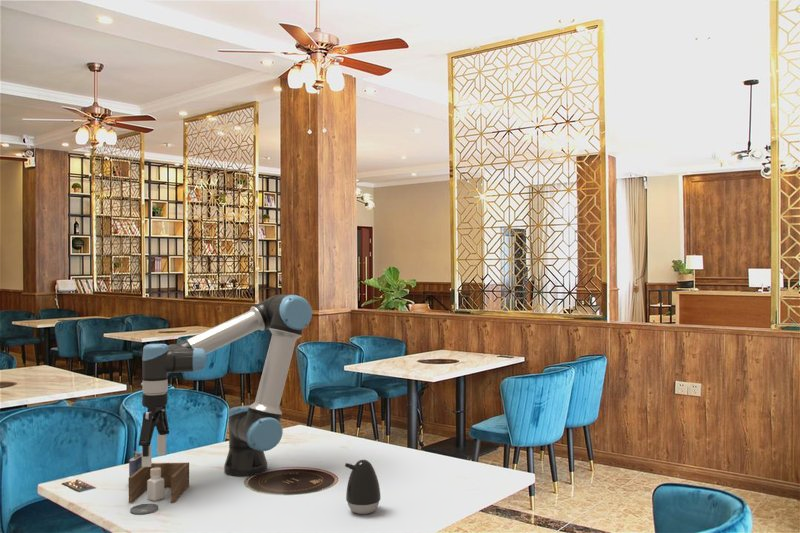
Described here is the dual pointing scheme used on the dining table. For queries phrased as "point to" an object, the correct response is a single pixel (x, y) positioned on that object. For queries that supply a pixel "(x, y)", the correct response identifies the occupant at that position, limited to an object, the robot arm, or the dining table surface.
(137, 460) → the flask
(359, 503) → the pump dispenser
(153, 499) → the pepper shaker
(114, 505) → the dining table surface
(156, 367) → the robot arm
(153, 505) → the slate coaster
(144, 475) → the wooden u-shaped frame
